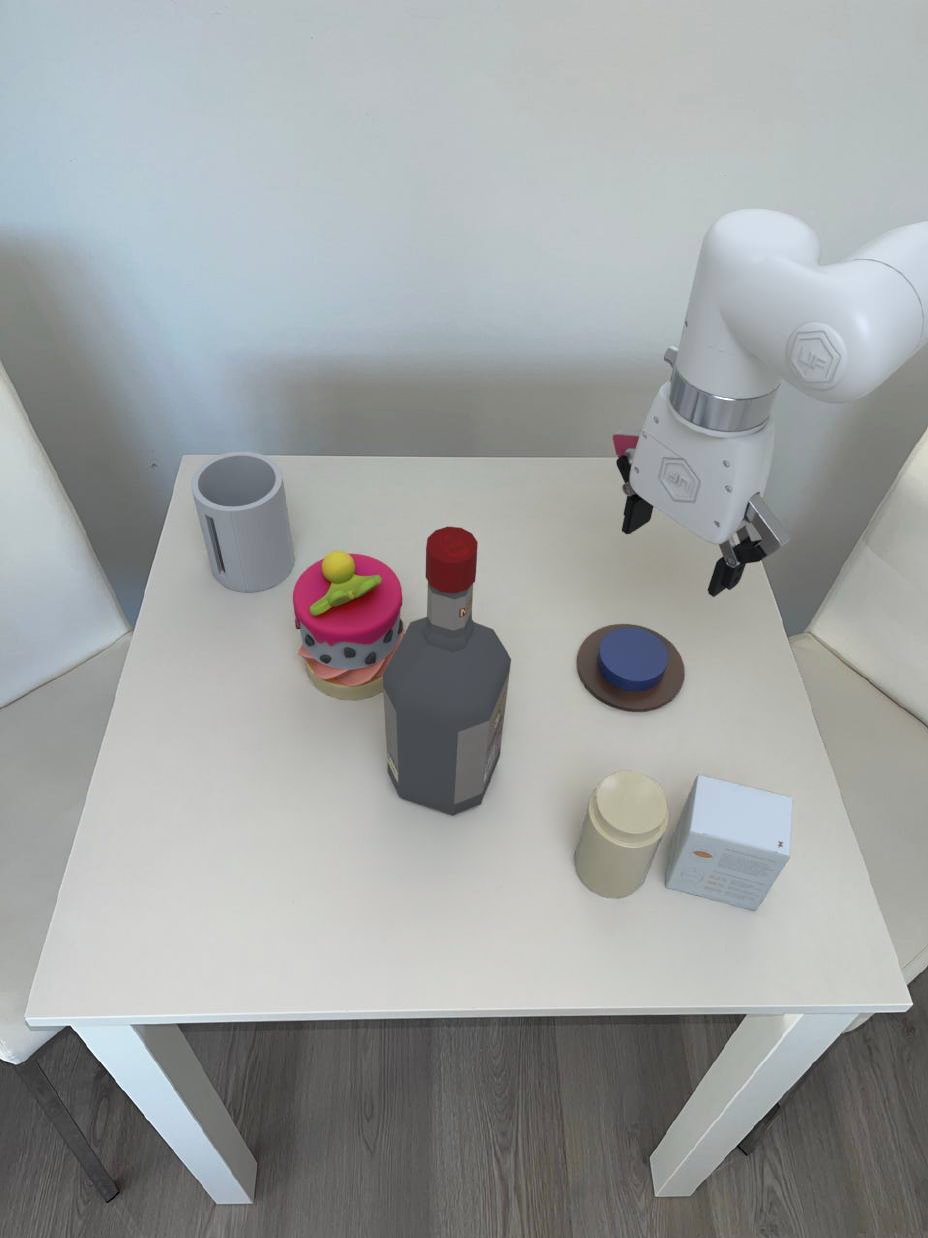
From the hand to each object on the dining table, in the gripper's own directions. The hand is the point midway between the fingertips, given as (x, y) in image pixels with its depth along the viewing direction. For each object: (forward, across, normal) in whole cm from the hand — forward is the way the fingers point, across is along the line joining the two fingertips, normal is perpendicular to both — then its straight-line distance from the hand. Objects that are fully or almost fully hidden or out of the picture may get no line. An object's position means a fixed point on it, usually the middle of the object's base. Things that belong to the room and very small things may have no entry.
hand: (677, 556), depth 81 cm
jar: (+19, +11, -17) cm, 28 cm away
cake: (+18, -21, -21) cm, 35 cm away
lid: (+16, -2, +1) cm, 17 cm away
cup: (+18, -39, -21) cm, 48 cm away
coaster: (+19, -2, +1) cm, 19 cm away
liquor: (+19, -5, -22) cm, 29 cm away
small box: (+19, +18, -10) cm, 28 cm away
